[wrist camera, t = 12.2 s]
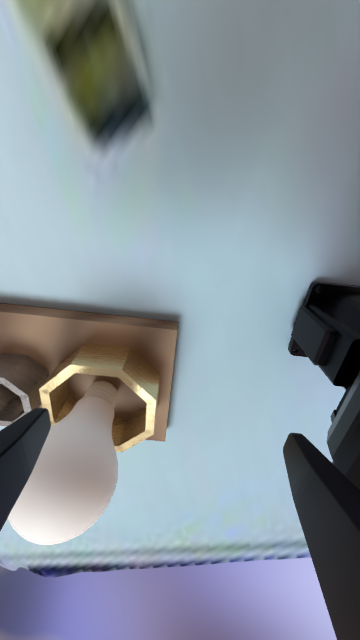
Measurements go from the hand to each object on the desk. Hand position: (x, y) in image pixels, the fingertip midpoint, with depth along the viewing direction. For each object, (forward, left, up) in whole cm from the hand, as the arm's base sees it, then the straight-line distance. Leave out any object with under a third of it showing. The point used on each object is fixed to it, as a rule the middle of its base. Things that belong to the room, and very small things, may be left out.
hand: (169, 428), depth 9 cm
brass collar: (+5, +8, -11) cm, 14 cm away
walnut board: (+9, +8, -12) cm, 17 cm away
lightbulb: (+6, +8, -11) cm, 15 cm away
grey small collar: (+14, +8, -11) cm, 19 cm away
